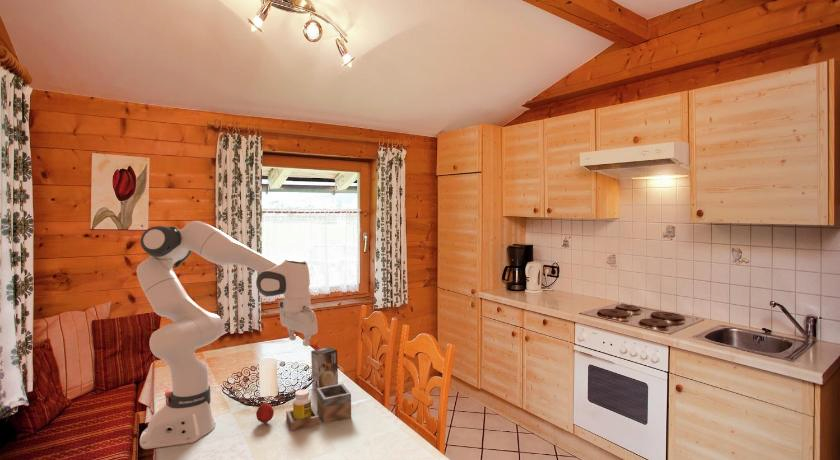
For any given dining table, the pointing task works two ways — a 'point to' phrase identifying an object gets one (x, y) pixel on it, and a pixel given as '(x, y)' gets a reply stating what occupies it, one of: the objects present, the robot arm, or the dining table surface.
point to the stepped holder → (325, 407)
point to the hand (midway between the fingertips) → (299, 342)
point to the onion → (265, 413)
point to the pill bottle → (301, 405)
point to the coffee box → (324, 367)
